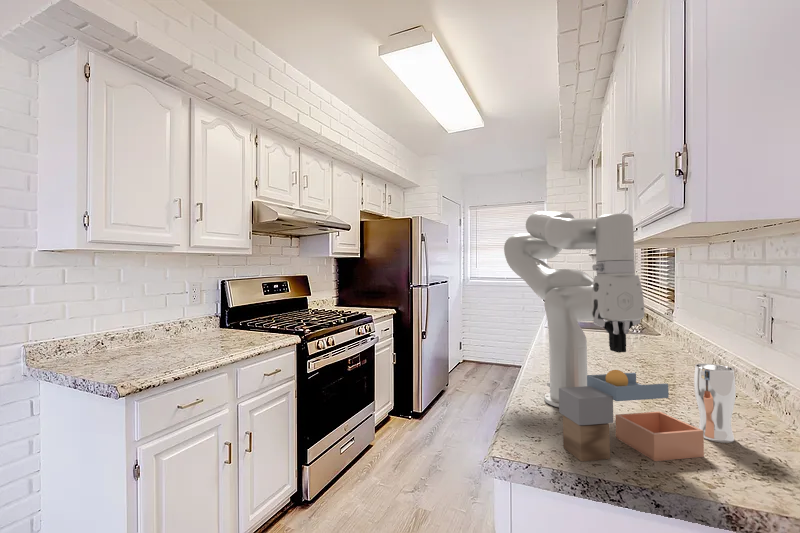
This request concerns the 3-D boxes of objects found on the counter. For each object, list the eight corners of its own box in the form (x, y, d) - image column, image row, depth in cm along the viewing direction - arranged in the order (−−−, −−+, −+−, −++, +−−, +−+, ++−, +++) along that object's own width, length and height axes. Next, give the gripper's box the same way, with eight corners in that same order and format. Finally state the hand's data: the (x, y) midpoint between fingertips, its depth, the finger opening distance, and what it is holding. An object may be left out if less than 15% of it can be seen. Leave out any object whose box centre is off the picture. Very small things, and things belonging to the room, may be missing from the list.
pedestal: (581, 461, 75) (580, 426, 75) (563, 447, 80) (562, 415, 81) (610, 458, 75) (609, 424, 76) (590, 445, 81) (589, 413, 81)
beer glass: (696, 428, 89) (694, 361, 90) (736, 435, 85) (734, 366, 85) (694, 438, 84) (692, 367, 84) (737, 447, 80) (735, 372, 80)
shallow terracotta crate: (615, 437, 85) (615, 414, 85) (660, 434, 86) (659, 411, 86) (654, 461, 74) (654, 434, 74) (703, 456, 76) (703, 430, 76)
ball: (601, 387, 81) (600, 368, 81) (619, 386, 81) (618, 367, 81) (614, 393, 77) (614, 373, 77) (633, 392, 77) (632, 372, 78)
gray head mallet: (582, 427, 73) (581, 389, 73) (542, 401, 88) (541, 369, 88) (673, 420, 76) (672, 384, 76) (619, 396, 91) (618, 365, 91)
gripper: (595, 269, 84) (598, 356, 83) (658, 268, 86) (661, 353, 86) (574, 270, 91) (577, 349, 91) (633, 269, 93) (635, 347, 93)
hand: (617, 351), depth 88 cm, fingers closed
